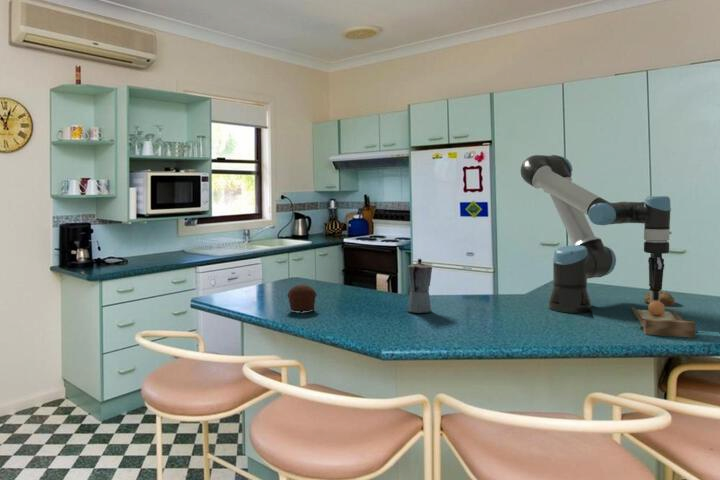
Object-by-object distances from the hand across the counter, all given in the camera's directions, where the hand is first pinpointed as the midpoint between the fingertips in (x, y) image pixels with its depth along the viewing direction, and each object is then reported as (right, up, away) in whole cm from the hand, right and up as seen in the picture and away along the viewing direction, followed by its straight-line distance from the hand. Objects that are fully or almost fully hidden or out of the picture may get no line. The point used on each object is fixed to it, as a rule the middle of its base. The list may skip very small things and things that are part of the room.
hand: (654, 308), depth 173 cm
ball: (0, 0, -1) cm, 1 cm away
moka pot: (-80, -4, +15) cm, 82 cm away
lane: (-4, -4, -9) cm, 11 cm away
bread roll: (+11, -2, +15) cm, 19 cm away
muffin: (-125, -4, +21) cm, 127 cm away
